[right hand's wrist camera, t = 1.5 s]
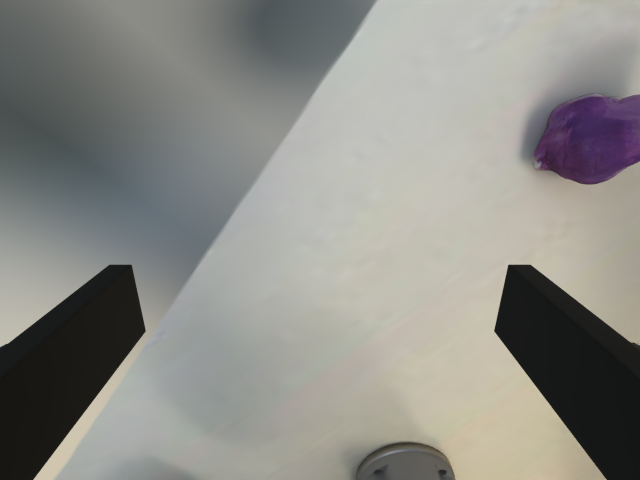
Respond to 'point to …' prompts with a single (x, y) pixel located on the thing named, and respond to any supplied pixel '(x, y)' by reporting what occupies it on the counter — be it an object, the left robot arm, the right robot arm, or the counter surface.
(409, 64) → the counter surface
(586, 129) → the figurine
